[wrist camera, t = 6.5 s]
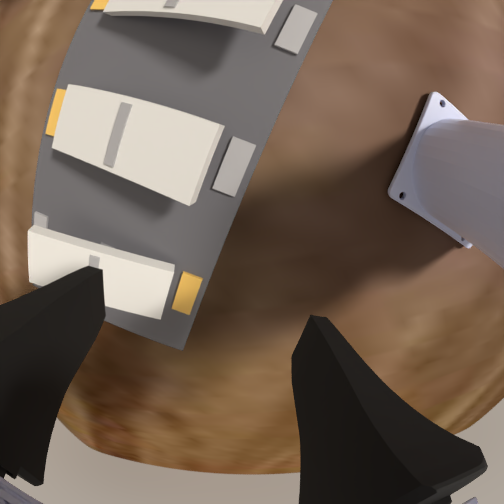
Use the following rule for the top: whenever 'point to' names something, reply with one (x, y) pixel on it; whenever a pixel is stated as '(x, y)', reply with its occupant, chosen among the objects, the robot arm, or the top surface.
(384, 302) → the top surface
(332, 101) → the top surface
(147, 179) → the rocker
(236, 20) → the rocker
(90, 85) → the switch panel
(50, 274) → the rocker
